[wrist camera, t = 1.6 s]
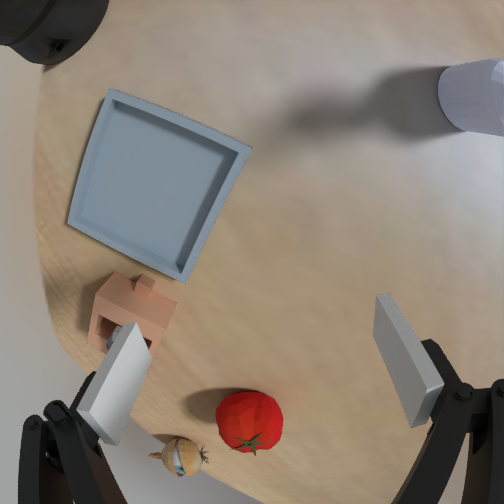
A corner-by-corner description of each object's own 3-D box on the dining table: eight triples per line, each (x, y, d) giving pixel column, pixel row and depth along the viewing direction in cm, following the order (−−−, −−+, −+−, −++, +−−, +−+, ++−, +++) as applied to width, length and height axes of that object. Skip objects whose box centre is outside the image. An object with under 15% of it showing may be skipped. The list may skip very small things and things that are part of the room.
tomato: (259, 424, 52) (258, 467, 42) (206, 398, 49) (197, 444, 39) (300, 399, 48) (305, 446, 39) (245, 369, 45) (242, 420, 36)
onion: (219, 479, 50) (154, 485, 47) (214, 450, 59) (155, 457, 56) (208, 457, 47) (138, 464, 45) (204, 427, 56) (141, 434, 54)
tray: (76, 217, 35) (67, 223, 33) (118, 90, 29) (109, 88, 27) (189, 275, 38) (185, 284, 36) (252, 147, 32) (251, 148, 29)
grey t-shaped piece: (124, 321, 42) (103, 357, 34) (133, 293, 40) (109, 328, 32) (140, 329, 42) (121, 366, 35) (150, 302, 40) (129, 339, 33)
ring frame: (102, 320, 42) (86, 343, 37) (117, 261, 38) (97, 282, 32) (157, 347, 44) (147, 373, 38) (181, 293, 39) (170, 319, 34)
